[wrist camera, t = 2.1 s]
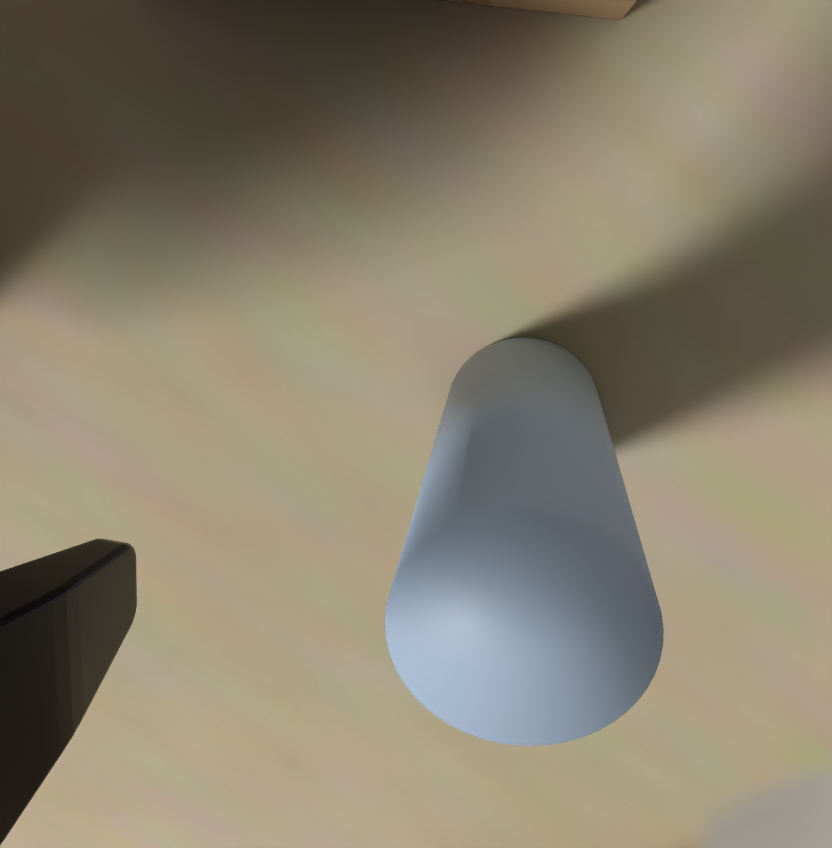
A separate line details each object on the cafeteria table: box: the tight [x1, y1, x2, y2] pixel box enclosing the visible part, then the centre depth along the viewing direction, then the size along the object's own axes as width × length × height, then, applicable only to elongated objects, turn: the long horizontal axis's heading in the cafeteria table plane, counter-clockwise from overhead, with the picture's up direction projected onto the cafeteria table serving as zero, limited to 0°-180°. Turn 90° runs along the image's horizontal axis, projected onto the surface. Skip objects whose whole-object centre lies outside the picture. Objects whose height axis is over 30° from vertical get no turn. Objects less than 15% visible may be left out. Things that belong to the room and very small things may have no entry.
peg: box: [385, 337, 663, 746], centre depth 13 cm, size 3×3×8 cm
